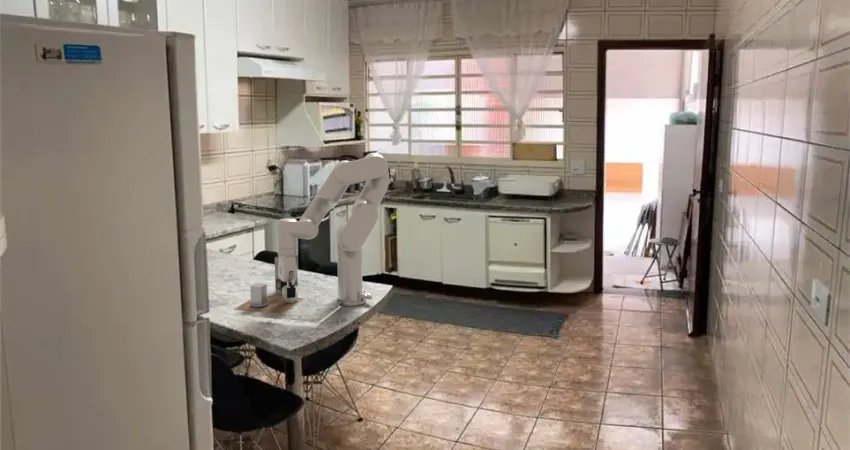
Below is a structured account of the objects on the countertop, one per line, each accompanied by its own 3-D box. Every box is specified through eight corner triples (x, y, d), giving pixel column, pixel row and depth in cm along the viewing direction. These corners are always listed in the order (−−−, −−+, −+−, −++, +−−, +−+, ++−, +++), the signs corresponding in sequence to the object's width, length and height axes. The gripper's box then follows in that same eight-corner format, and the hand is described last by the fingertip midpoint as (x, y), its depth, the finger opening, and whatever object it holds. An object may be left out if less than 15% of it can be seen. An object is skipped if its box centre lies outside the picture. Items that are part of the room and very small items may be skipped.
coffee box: (290, 297, 278) (288, 258, 275) (275, 296, 279) (273, 257, 276) (298, 291, 287) (297, 253, 284) (284, 290, 288) (282, 252, 285)
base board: (305, 302, 272) (305, 298, 271) (282, 317, 253) (282, 313, 252) (258, 298, 276) (258, 294, 276) (233, 313, 257) (233, 309, 257)
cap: (300, 299, 270) (300, 285, 269) (294, 304, 264) (293, 289, 263) (286, 298, 271) (286, 284, 270) (279, 302, 265) (279, 288, 264)
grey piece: (271, 303, 265) (270, 283, 263) (263, 308, 258) (262, 288, 257) (255, 302, 266) (254, 282, 265) (246, 307, 260) (245, 286, 258)
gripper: (272, 247, 270) (272, 289, 273) (283, 256, 255) (283, 301, 258) (291, 245, 273) (291, 287, 276) (303, 255, 258) (303, 299, 261)
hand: (287, 294), depth 267 cm, fingers open, 9 cm apart
